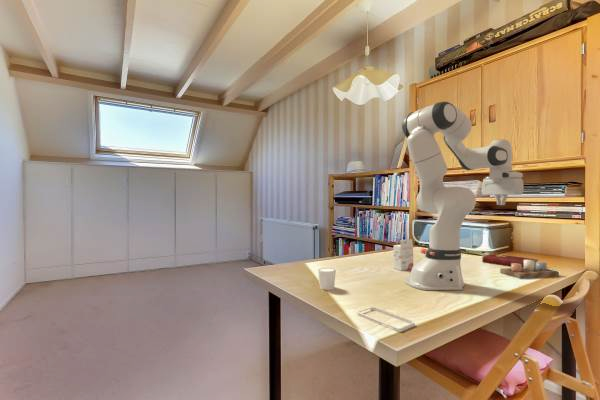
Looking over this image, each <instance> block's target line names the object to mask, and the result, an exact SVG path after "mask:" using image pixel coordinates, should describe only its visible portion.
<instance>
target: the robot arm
mask: <svg viewBox="0 0 600 400" xmlns="http://www.w3.org/2000/svg"><path fill="white" fill-rule="evenodd" d="M403 118H404V119H402V123H401V129H402V132H403V134H404V135H405V137H406V138H407V140H406V144H407V145H406V146H407V149H408V153H409V157H410V160H411V162H412V164H413V167H414V170H415V172H416V176H417V178H418V181H419V192H418V194H417V196H416V206H417V207H418V208H419V210H421V211H422V212H425V213H428V214H437V215H438V216H437V219H436V221H435V223H434V224H433V225H431V227H430V228H429V230H428V231H429V233H428V234H429V236H428V237H429V239H428V240H429V241H428V242H429V246H428V248H426V249H425V248H423V247H422V248H421V254H423V255H425V257H423V258H422V259H421V260H420V261H418V262H417V263H416V264H415V265H413V267H412V269H410V270H411V271H410V277H406V278H405V279H404V283H406V284H407V285H408V286H410V287H413V288H414V289H418V290H423V291H462V290H463V287H465V285H466V284H465V282H464V279H463V274H462V266H461V259H462V250H461V248H460V247H461V244H460V243H461V242H460V241H461V228H462V225H463V222H464V221H465V218H466V217H467V215H468V214H469V213H471V212H472V211H473V210H474V209H475V206H476V204H477V203H476V202H477V201H476V200H477V199H476V195H475V193H474V192H473V191H472V189H470V188H467V187H462V186H456V185H455V186H445V184H444V176H446V174H447V173H448V166H447V164H446V161H445V159H444V155H443V153H442V151H441V149H440V146H439V144H438V142H437V140H436V139H435V134H437V133H439V132H441V134H443V141H444V143H445V145H446V146H447V148H448V149H449V151H450V152H451V153H452V154H453V155H454V156H455V158H456V160H458V164H459V165H460V166H461V168H462V169H463V170H465V171H473V170H478V169H487V168H489V176H485V177H484V178H483V180H482V185H481V196H494V199H495V201H496V206H497V205H498V206H505V205H506V201H507V199H508V198H509V197H508V196H510V195H511V196H513V195H514V196H517V195H522V194H524V191H525V190H524V180H523V179H522V178H523V177H524V176H523V175H524V174H523V172H519V171H515V170H513V166H512V161H513V149H512V148H513V147H512V145H511V142H510V140H508V139H495V140H492V141H491V142H490V144H489V145H487V146H483V147H477V148H476V147H475V148H469V147H468V148H467V147H466V145H465V144H464V143H463V142H462V141H464V140H465V139H466V138H467V137H468V136H469V135H470V133H471V131H472V128H473V124H472V123H473V122H472V121H471V119H470V118H469V116H468V115H466V113H464V112H463V111H462V110H461V109H460V108H459V107H458V106H456V105H454V104H453V103H451V102H449V101H445V100H444V101H439V102H436V103H434V104H431V105H428V106H425V107H421V108H420V109H418V110H416V111H414V112H411V113H409V114H407V116H405V117H403Z"/></svg>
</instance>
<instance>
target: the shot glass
mask: <svg viewBox="0 0 600 400" xmlns="http://www.w3.org/2000/svg"><path fill="white" fill-rule="evenodd" d="M336 271H337V270H336V269H334V268H329V267H323V268H319V269H318V270H317V272H318V283H319V289H320V290H323V291H324V290H326V291H330V290H334V289H335V284H336V283H335V282H336Z"/></svg>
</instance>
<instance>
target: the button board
mask: <svg viewBox="0 0 600 400" xmlns="http://www.w3.org/2000/svg"><path fill="white" fill-rule="evenodd" d="M499 271H500V274H503V275H505V276H510V277H513V278H516V279H521V280H522V279H535V278H549V277H550V278H551V277H553V278H554V277H560V271H559V270H558V271H557V270H553V269H549V268H547V271H541V270H536V267H534V271H525V270H524V267H522V272H514V271H511V267H508V268H507V267H506V268H500V269H499Z"/></svg>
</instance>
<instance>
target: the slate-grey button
mask: <svg viewBox="0 0 600 400" xmlns="http://www.w3.org/2000/svg"><path fill="white" fill-rule="evenodd" d="M547 266H548V265H547V262H544V261H537V262H536V270H541V271H547V269H548V267H547Z"/></svg>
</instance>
